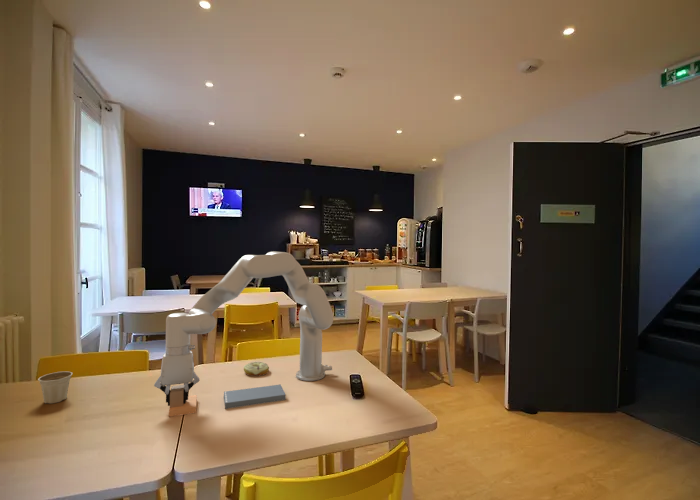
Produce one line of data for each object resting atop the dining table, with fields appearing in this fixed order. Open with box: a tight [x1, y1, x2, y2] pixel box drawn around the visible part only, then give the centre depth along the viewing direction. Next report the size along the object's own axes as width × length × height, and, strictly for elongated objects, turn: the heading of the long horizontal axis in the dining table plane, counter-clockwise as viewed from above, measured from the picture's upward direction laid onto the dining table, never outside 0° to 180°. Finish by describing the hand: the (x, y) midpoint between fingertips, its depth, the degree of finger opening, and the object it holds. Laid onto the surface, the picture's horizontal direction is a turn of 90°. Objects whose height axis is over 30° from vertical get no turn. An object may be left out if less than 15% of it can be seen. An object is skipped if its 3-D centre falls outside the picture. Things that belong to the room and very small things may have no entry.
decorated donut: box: [243, 361, 270, 377], centre depth 155 cm, size 10×11×4 cm
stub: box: [168, 384, 198, 418], centre depth 120 cm, size 8×10×7 cm
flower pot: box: [37, 371, 73, 404], centre depth 124 cm, size 9×9×9 cm
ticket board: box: [223, 384, 287, 410], centre depth 129 cm, size 21×10×2 cm, turn 112°
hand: (177, 402), depth 119 cm, fingers closed on stub, 4 cm apart
